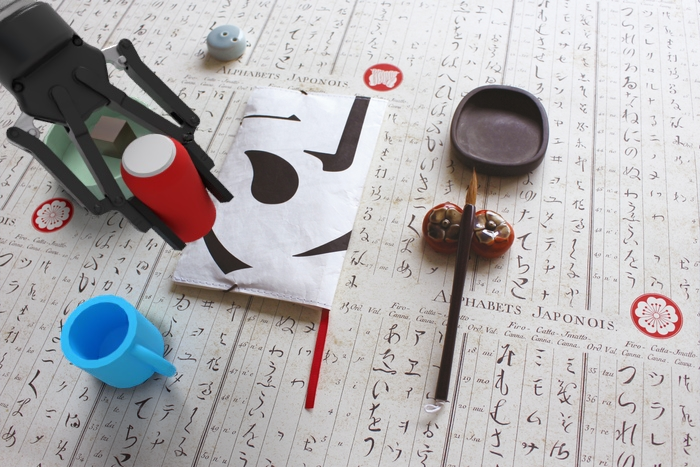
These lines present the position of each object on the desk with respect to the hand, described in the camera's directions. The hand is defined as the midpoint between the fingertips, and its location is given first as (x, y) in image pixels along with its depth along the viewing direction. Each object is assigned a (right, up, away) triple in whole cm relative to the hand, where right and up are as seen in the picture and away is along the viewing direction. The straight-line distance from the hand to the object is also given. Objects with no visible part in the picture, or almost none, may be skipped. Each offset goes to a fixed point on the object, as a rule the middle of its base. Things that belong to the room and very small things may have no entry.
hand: (204, 223), depth 55 cm
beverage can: (-3, 0, +5) cm, 5 cm away
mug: (-10, -16, +11) cm, 22 cm away
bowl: (-19, +10, +26) cm, 34 cm away
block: (-19, +11, +26) cm, 34 cm away
